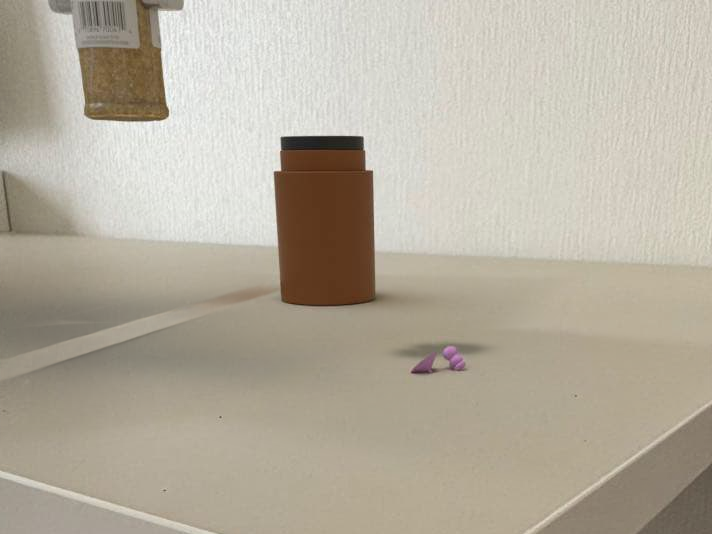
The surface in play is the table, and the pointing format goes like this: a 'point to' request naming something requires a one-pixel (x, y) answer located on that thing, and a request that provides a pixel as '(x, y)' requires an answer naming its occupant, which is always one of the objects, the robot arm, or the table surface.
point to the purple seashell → (448, 354)
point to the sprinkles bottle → (120, 60)
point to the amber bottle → (325, 221)
